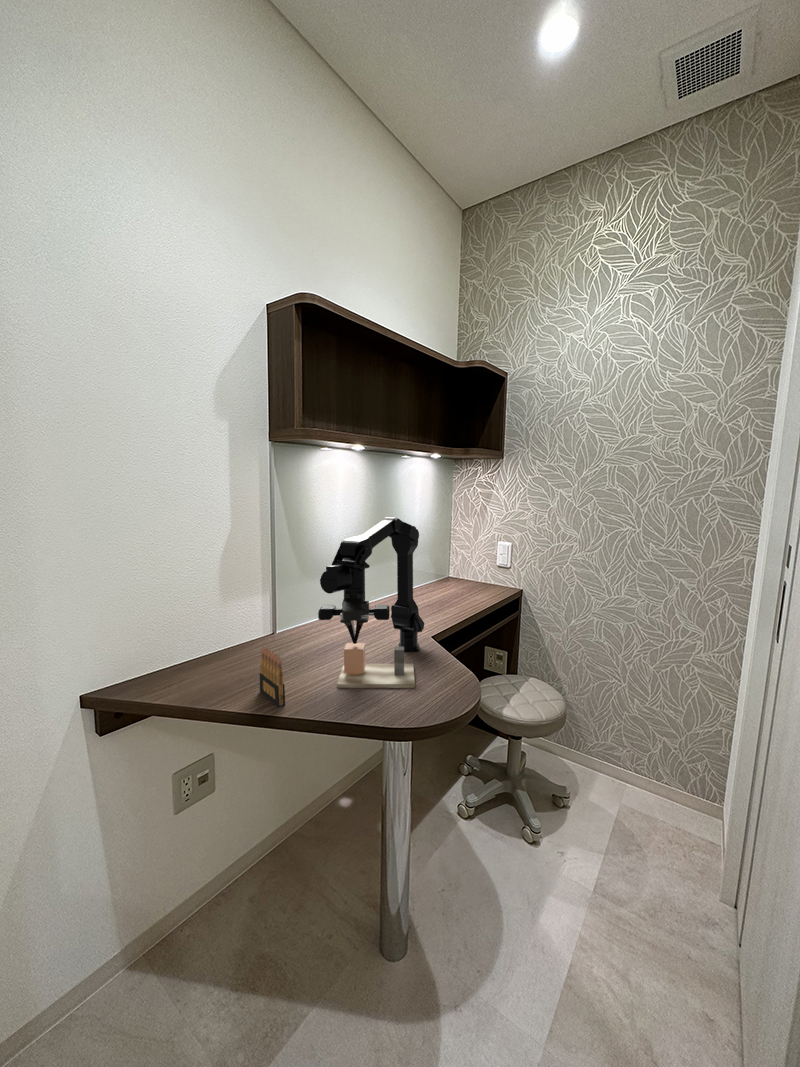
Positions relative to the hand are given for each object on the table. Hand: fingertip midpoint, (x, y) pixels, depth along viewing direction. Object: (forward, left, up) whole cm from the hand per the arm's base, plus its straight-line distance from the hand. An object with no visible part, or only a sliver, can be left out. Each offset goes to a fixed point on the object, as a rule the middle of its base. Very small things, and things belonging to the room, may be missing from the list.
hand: (354, 643), depth 123 cm
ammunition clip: (+13, -19, -10) cm, 25 cm away
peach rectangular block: (0, 0, -7) cm, 7 cm away
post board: (0, +6, -9) cm, 11 cm away
